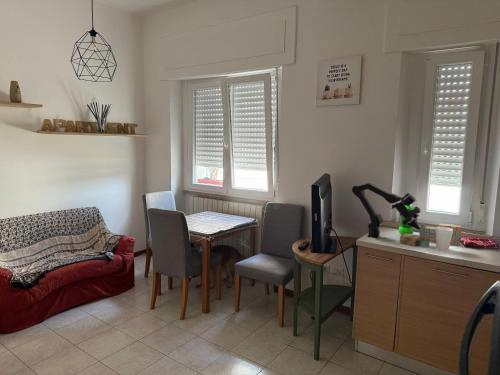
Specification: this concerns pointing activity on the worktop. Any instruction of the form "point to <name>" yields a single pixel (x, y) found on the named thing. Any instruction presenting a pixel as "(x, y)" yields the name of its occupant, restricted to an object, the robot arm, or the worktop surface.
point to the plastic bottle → (405, 228)
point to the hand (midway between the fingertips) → (419, 229)
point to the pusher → (422, 230)
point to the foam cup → (443, 238)
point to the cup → (424, 243)
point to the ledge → (410, 239)
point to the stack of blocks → (456, 235)
